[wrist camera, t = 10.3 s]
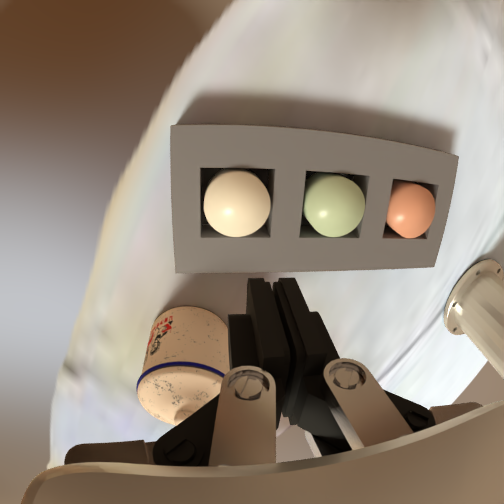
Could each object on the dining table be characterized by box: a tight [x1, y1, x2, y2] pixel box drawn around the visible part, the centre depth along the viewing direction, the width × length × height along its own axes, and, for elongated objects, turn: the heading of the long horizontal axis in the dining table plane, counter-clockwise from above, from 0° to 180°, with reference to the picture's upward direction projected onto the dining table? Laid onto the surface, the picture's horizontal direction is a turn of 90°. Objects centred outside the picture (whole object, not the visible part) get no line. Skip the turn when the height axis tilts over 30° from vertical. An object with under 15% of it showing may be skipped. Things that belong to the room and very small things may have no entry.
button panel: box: [170, 124, 459, 273], centre depth 26 cm, size 26×12×3 cm, turn 87°
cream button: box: [204, 168, 270, 237], centre depth 24 cm, size 5×5×3 cm
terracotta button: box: [385, 179, 435, 238], centre depth 26 cm, size 5×5×3 cm
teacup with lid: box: [137, 306, 230, 426], centre depth 27 cm, size 12×9×12 cm
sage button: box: [302, 172, 365, 237], centre depth 25 cm, size 5×5×3 cm
